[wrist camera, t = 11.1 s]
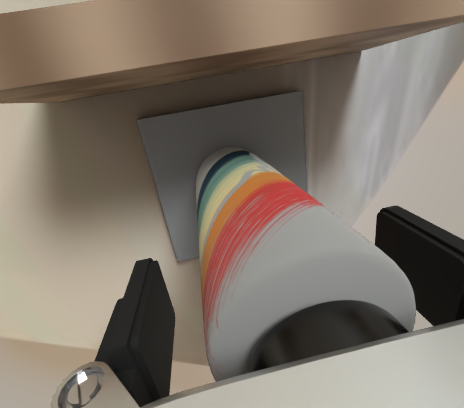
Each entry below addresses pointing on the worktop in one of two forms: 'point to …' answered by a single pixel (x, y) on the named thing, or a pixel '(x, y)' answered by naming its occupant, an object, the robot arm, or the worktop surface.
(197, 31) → the brown wooden board
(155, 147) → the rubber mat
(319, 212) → the lotion bottle
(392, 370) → the robot arm
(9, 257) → the worktop surface
